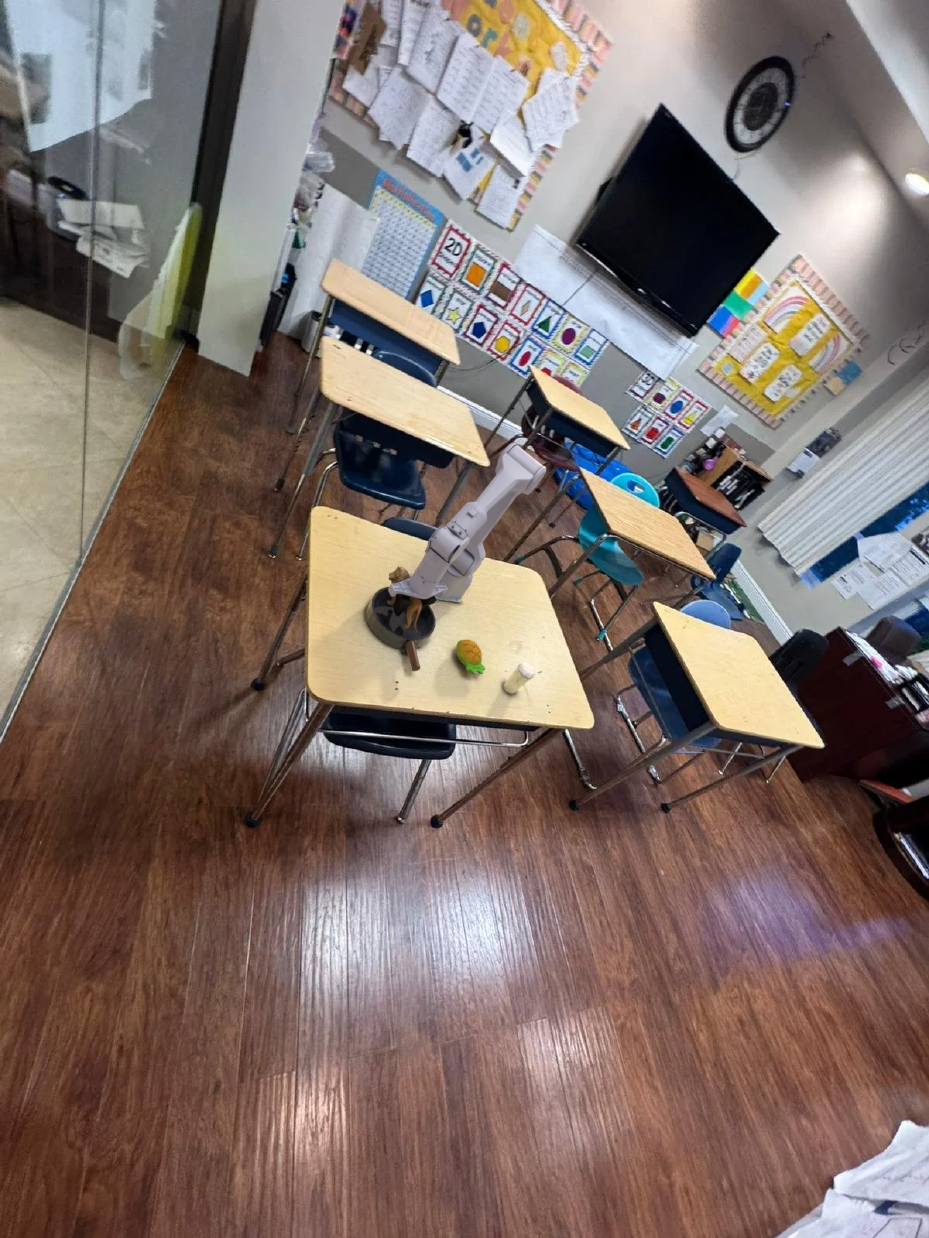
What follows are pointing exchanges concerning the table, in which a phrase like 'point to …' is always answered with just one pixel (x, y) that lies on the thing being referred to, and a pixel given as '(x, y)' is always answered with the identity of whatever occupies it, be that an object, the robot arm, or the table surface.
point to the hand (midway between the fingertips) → (404, 612)
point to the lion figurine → (416, 605)
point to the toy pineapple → (470, 655)
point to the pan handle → (411, 655)
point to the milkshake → (519, 677)
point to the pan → (397, 622)
